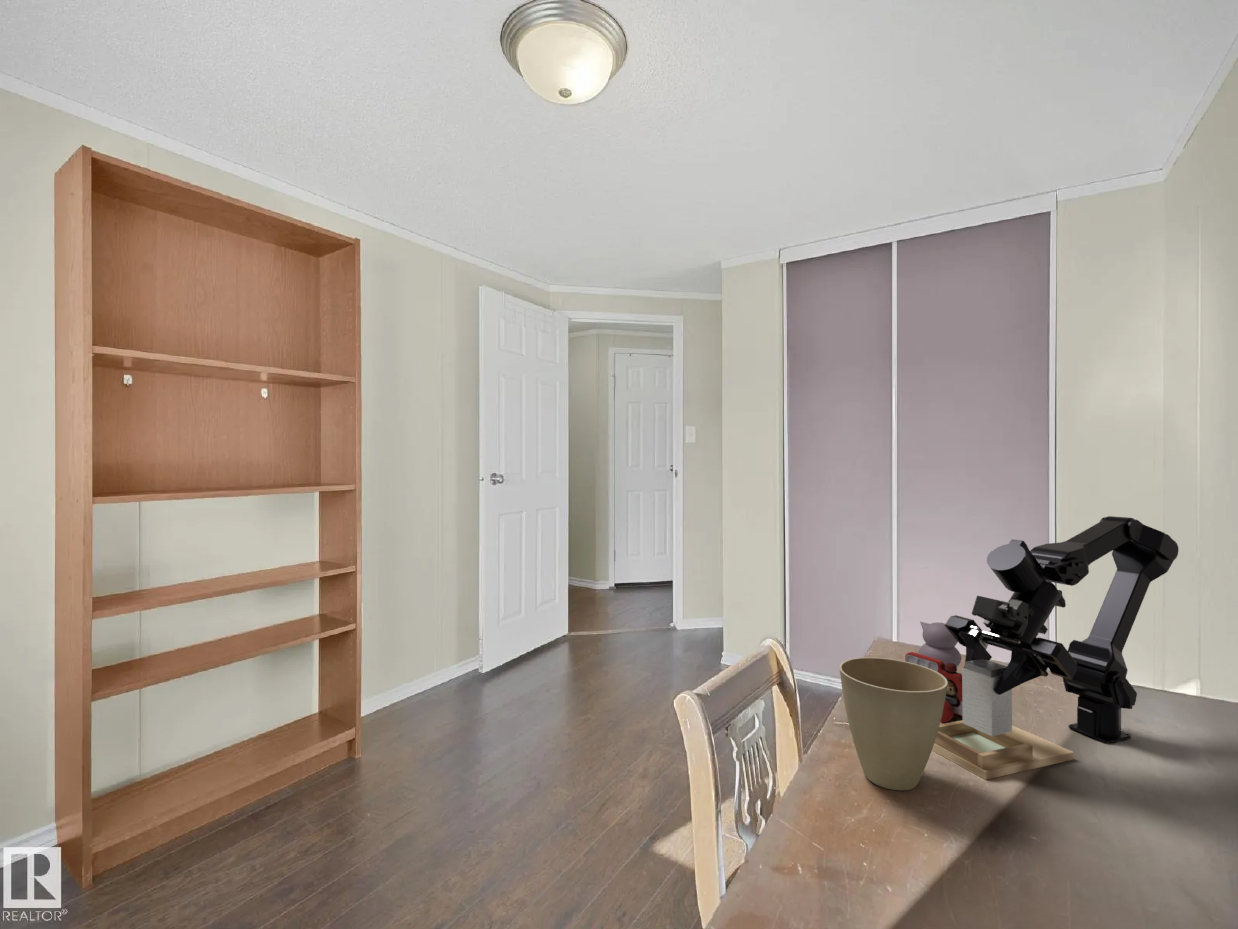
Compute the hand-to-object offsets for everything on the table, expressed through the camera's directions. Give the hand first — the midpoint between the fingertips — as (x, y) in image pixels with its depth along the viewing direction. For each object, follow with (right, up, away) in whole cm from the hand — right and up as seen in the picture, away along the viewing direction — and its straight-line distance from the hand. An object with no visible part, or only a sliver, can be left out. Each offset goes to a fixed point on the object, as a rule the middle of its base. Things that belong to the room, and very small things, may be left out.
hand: (980, 687), depth 95 cm
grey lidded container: (+1, -7, +1) cm, 7 cm away
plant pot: (-16, -12, -4) cm, 21 cm away
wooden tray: (+5, -12, +4) cm, 14 cm away
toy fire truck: (+3, -13, +20) cm, 23 cm away
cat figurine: (+15, -12, +39) cm, 44 cm away
